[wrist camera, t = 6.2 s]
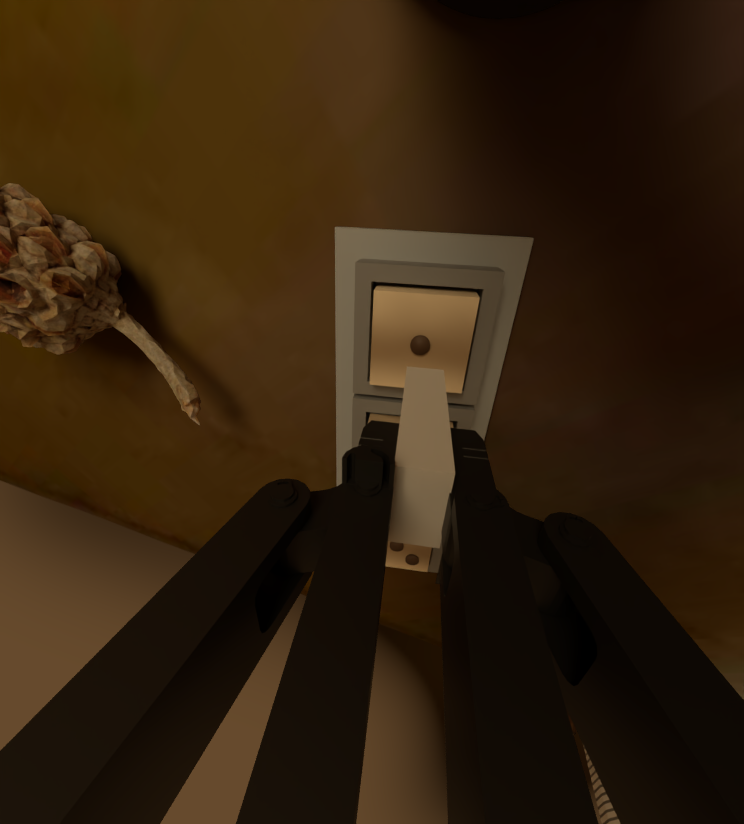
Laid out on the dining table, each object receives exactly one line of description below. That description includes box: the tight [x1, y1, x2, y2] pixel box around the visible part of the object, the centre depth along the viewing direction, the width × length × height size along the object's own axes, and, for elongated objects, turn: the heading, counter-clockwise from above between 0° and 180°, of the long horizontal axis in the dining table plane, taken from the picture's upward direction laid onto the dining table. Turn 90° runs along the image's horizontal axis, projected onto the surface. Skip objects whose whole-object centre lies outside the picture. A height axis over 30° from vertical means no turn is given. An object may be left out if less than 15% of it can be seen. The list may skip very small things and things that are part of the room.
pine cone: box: [0, 183, 201, 425], centre depth 23 cm, size 22×10×10 cm, turn 53°
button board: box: [335, 227, 534, 573], centre depth 28 cm, size 30×12×3 cm, turn 177°
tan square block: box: [370, 282, 480, 393], centre depth 22 cm, size 6×6×3 cm
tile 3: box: [385, 541, 432, 572], centre depth 31 cm, size 6×6×3 cm
